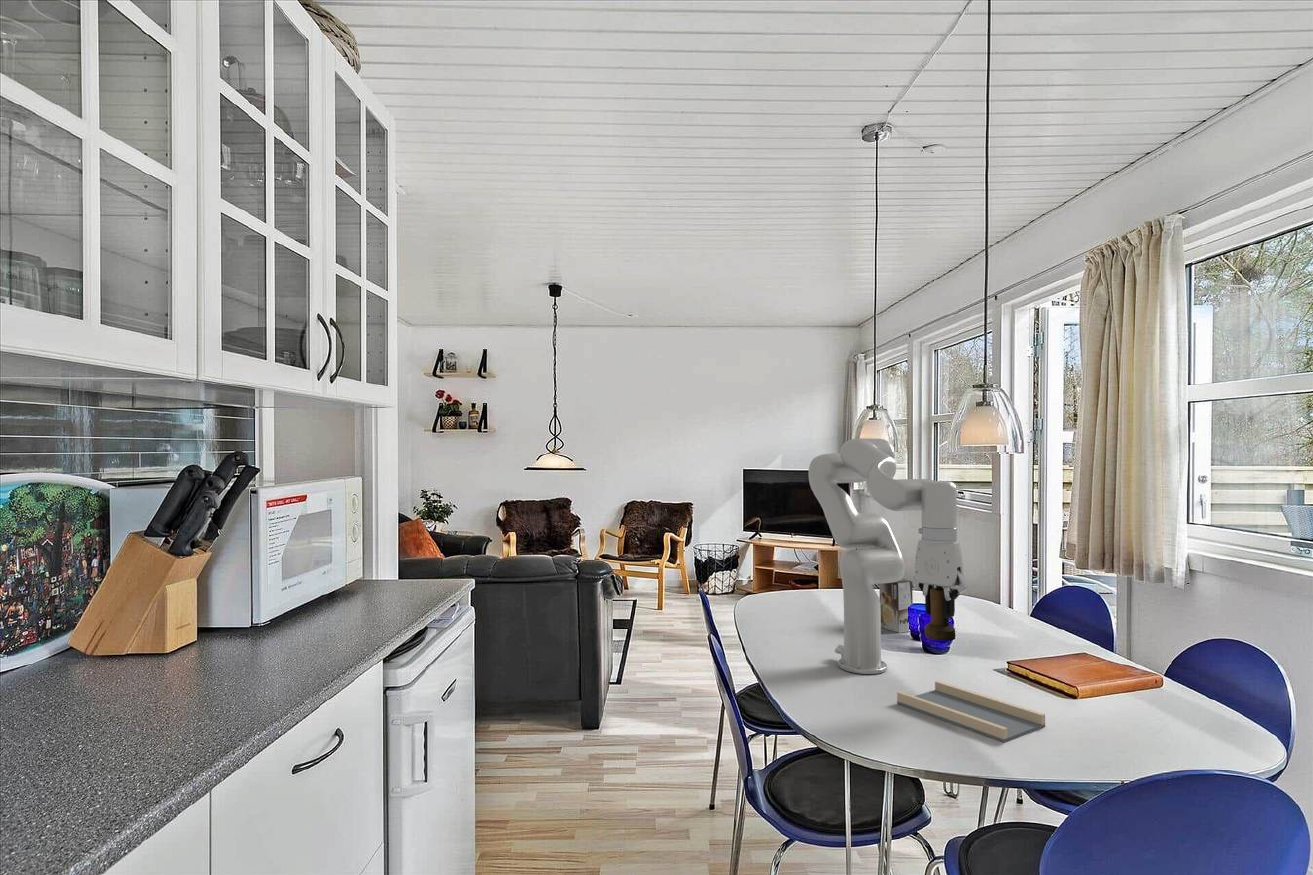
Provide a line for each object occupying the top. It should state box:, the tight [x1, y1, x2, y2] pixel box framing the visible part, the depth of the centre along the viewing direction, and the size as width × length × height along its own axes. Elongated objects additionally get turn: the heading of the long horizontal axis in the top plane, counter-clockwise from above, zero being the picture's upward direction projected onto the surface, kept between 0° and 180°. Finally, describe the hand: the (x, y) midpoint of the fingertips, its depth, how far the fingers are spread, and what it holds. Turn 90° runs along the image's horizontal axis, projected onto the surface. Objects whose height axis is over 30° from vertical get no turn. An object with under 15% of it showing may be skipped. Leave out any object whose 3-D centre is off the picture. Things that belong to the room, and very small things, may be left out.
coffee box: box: [878, 578, 914, 634], centre depth 234 cm, size 9×6×16 cm
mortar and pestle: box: [924, 586, 956, 642], centre depth 165 cm, size 7×6×18 cm
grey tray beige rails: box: [896, 680, 1046, 743], centre depth 159 cm, size 26×15×3 cm, turn 33°
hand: (939, 614), depth 165 cm, fingers closed on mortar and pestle, 3 cm apart
